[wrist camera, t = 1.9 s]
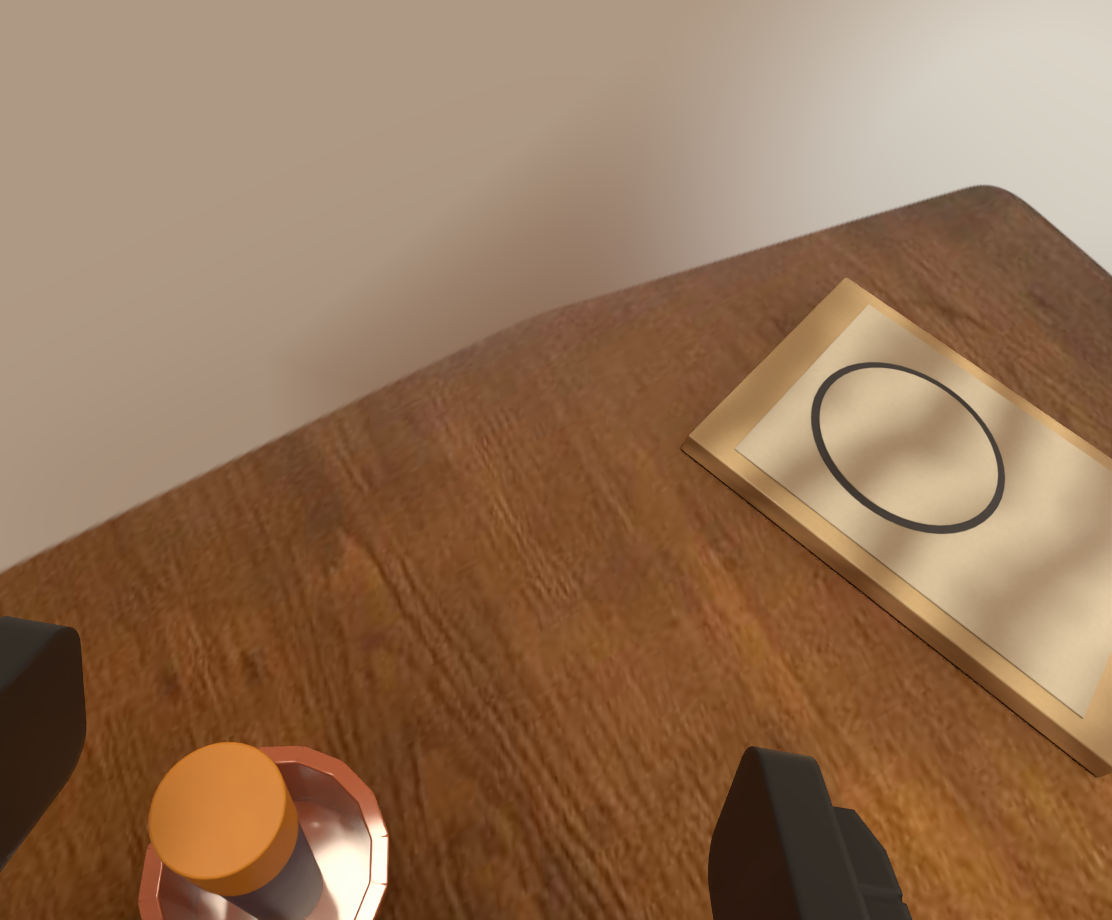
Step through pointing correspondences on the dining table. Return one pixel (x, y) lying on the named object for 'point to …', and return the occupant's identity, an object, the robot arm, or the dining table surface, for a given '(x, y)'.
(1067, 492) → the drawing board
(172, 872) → the pen pot
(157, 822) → the marker
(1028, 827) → the dining table surface
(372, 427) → the dining table surface
